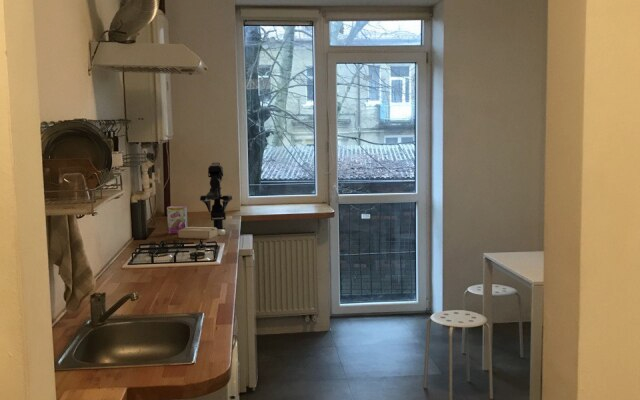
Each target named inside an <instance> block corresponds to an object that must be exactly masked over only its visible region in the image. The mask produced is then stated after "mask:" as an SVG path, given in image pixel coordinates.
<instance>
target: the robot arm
mask: <svg viewBox="0 0 640 400" xmlns="http://www.w3.org/2000/svg"><path fill="white" fill-rule="evenodd" d="M207 173H208V174H207V175H208V178H210V181H209V185H210V188H209V192H207V194H203V195H200V197H199V200H200V201H201V202H202V203H204V205H206V208H207V211H208V213H210V219H211V221H213V227H215V228H217V229H224V230H226V227H224V221H225V220H226V219H227V214H226V210H227V209H226V208H227V206H228V204H229V203H230V202H231V201H232V200H233V196H232V195H230V194H226V195H225V194H224V195H223V196H222V192H221V190H222V187H221V182H222V181H223V177H224V168H223V166H222V165H221V163H220V162H212V163H211V165H209V166H208V169H207ZM221 200H222V201H221ZM212 201H213V204H212V205H211V202H212Z"/></svg>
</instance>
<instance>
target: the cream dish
mask: <svg viewBox="0 0 640 400" xmlns="http://www.w3.org/2000/svg"><path fill="white" fill-rule="evenodd" d="M224 235H226V229H218V236H224Z"/></svg>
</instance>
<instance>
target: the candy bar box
mask: <svg viewBox="0 0 640 400" xmlns="http://www.w3.org/2000/svg"><path fill="white" fill-rule="evenodd" d="M187 207H188V206H166V216H167V217H166V220H167V234H168V235H178V231H179V230H181V229H184V228H185V227H188V213H187V212H188V211H187V209H188V208H187Z"/></svg>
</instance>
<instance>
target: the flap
mask: <svg viewBox="0 0 640 400" xmlns="http://www.w3.org/2000/svg"><path fill="white" fill-rule="evenodd" d="M184 229H217V228H215V227H214V226H213V227H210V226H209V227H207V226H206V227H203V226H199V227H198V226H187V227H185V228H184Z"/></svg>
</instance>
